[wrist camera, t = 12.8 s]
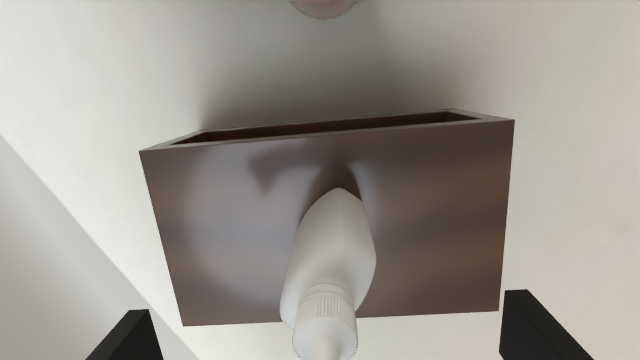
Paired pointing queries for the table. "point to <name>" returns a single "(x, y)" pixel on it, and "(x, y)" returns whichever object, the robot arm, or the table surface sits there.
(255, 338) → the table surface
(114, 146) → the table surface
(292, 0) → the soda can
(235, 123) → the table surface
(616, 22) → the table surface
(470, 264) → the dark wooden box
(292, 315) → the eye dropper bottle
